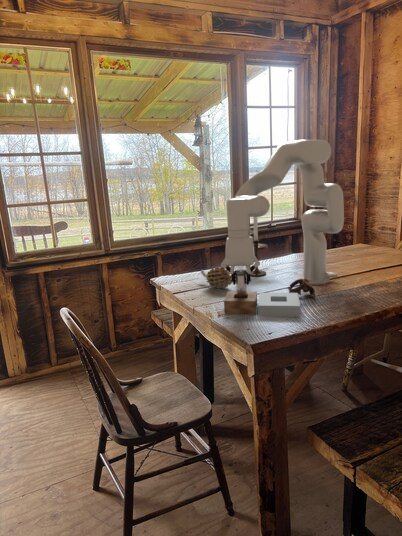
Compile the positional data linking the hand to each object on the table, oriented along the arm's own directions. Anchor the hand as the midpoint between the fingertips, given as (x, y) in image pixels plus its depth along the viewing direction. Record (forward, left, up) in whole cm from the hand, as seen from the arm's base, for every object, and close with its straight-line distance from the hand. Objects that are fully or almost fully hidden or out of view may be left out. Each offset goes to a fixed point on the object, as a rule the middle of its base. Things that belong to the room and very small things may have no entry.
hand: (241, 283), depth 133 cm
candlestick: (-3, -48, -10) cm, 49 cm away
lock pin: (0, 0, -7) cm, 7 cm away
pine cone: (+15, -28, -10) cm, 33 cm away
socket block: (-13, 0, -10) cm, 16 cm away
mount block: (0, 0, -10) cm, 10 cm away
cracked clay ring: (-23, -15, -10) cm, 29 cm away
